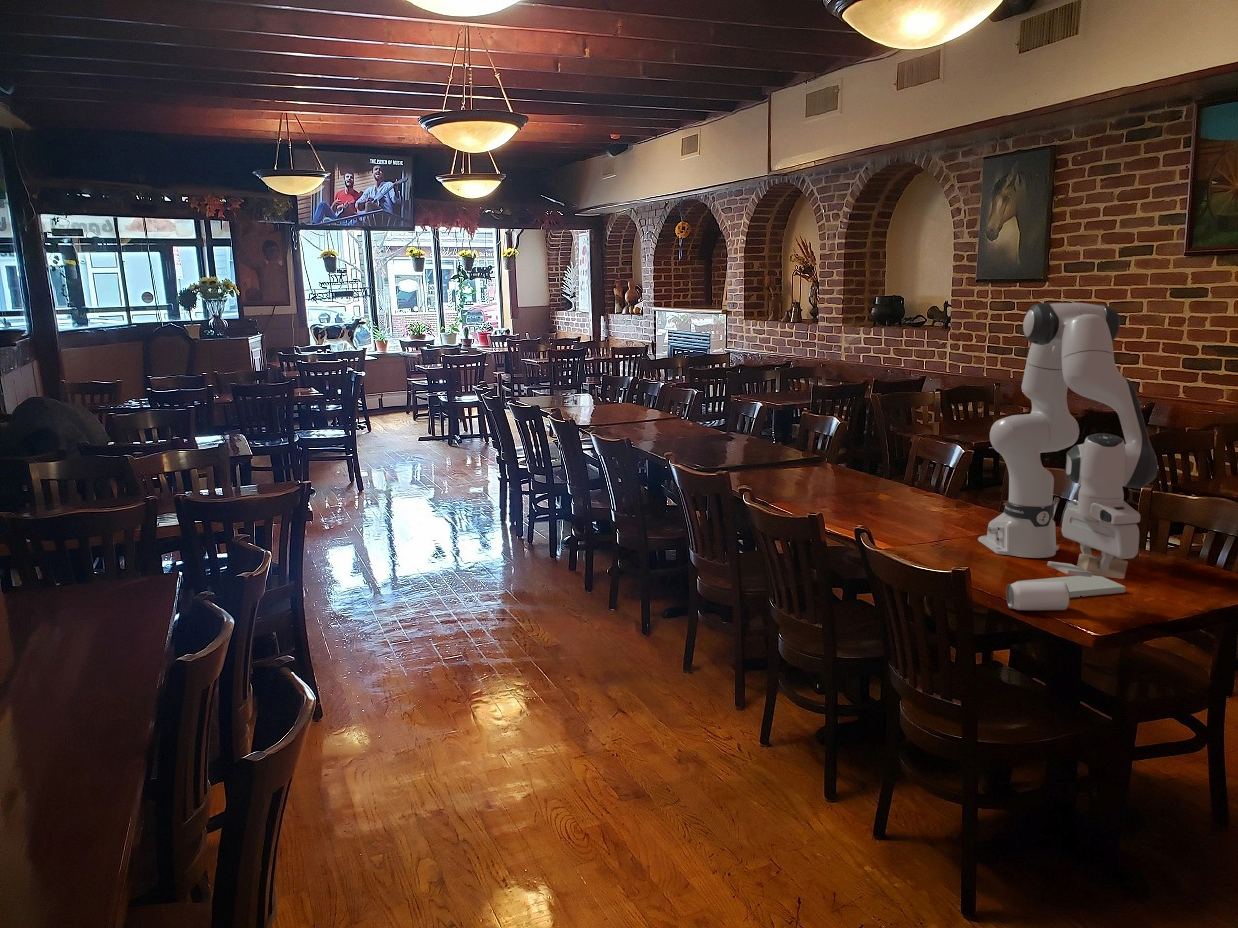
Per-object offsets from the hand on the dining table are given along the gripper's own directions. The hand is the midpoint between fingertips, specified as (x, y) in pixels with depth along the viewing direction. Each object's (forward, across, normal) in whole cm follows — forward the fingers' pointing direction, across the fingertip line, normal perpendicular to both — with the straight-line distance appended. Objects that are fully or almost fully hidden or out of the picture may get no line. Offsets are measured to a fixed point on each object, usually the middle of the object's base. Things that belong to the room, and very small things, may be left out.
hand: (1095, 566), depth 195 cm
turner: (+1, 0, -2) cm, 2 cm away
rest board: (+10, -13, +4) cm, 17 cm away
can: (+7, -1, -6) cm, 9 cm away
